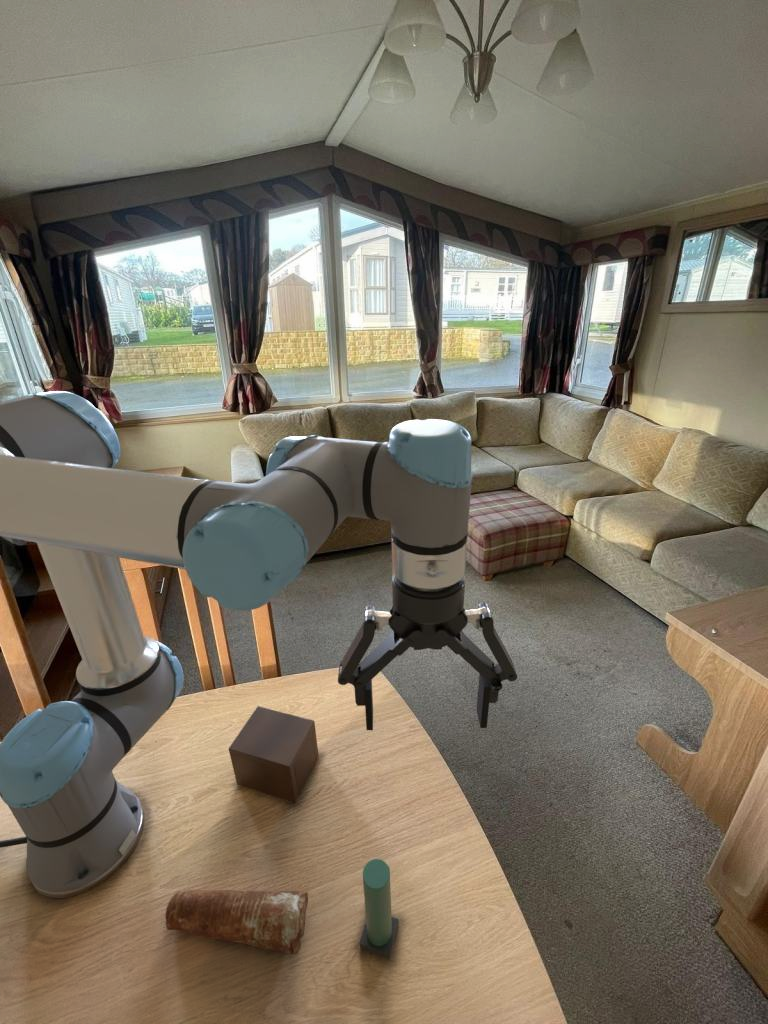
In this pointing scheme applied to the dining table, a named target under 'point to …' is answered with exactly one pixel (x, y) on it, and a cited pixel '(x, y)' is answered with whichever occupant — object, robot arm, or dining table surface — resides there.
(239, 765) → the dark brown wooden cube
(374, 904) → the green handled tool
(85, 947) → the dining table surface
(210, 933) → the brown cylinder
